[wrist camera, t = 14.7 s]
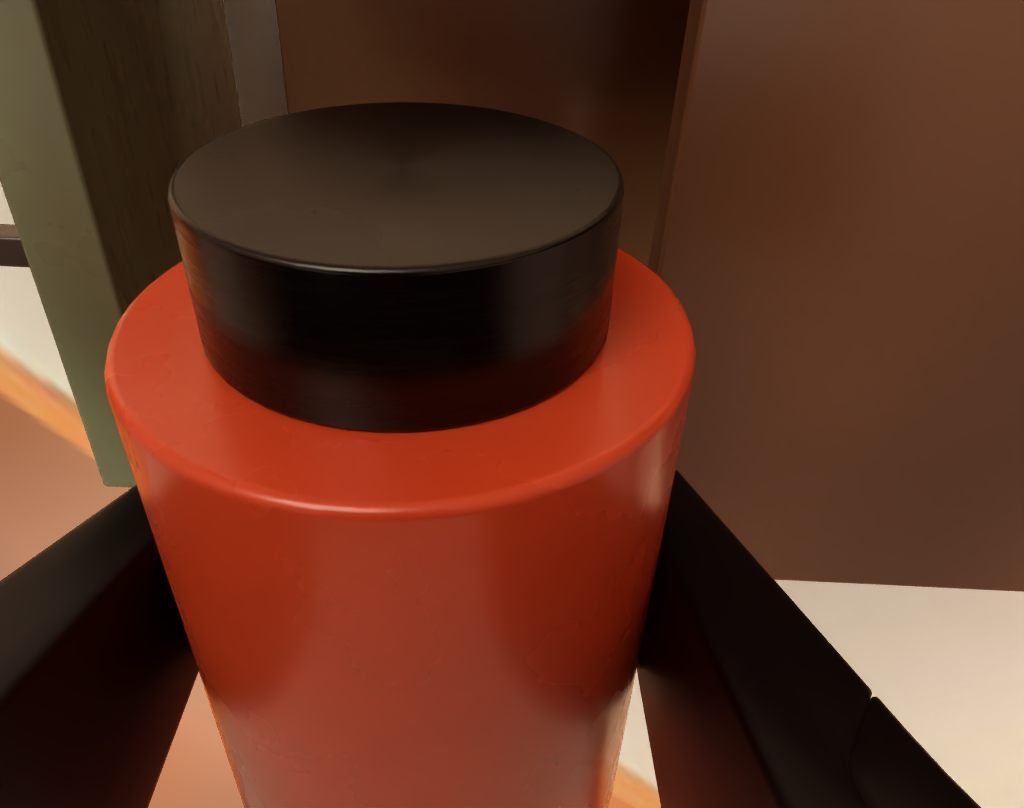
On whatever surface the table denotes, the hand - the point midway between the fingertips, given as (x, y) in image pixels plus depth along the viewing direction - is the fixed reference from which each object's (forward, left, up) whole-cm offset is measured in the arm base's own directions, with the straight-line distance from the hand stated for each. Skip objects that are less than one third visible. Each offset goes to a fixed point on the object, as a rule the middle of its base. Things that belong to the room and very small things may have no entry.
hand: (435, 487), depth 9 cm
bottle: (0, 0, -1) cm, 1 cm away
